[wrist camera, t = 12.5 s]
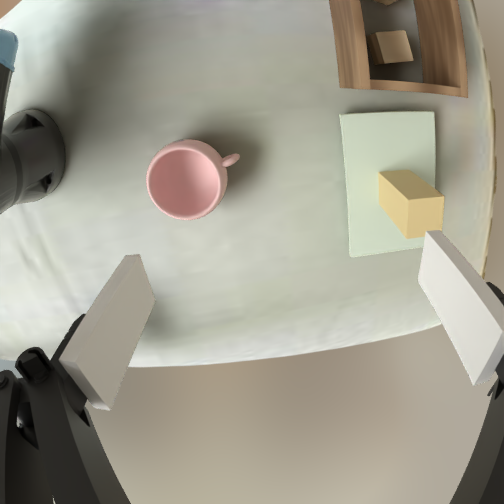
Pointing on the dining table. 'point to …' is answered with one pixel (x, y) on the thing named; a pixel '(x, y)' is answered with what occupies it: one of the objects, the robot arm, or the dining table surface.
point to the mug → (188, 178)
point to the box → (431, 43)
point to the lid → (390, 180)
